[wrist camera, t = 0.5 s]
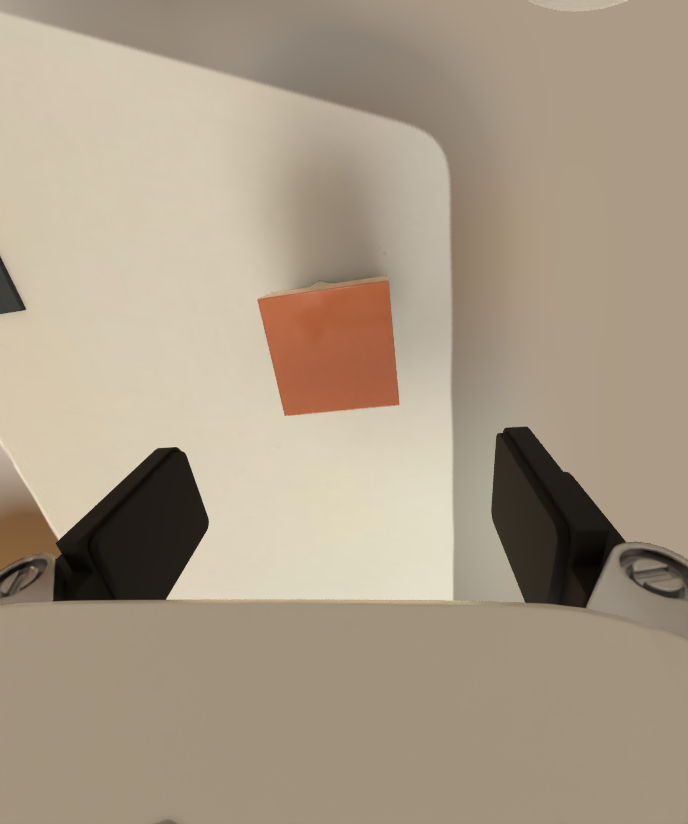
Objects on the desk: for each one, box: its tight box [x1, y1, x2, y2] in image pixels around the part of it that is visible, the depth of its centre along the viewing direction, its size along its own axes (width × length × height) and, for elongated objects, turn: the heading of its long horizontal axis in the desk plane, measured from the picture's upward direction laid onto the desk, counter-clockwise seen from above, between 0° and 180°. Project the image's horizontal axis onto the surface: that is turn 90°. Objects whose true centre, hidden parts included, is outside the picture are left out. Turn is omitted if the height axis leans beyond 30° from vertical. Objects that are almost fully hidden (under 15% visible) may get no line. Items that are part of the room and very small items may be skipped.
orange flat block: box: [258, 276, 399, 416], centre depth 23 cm, size 7×7×3 cm
